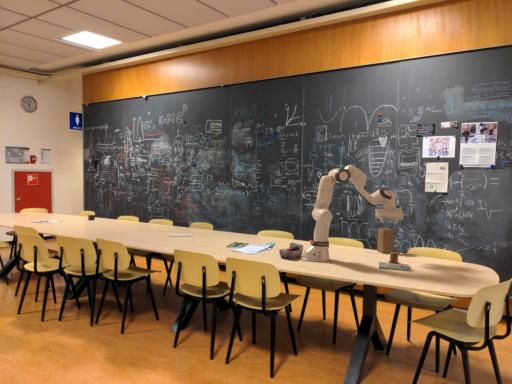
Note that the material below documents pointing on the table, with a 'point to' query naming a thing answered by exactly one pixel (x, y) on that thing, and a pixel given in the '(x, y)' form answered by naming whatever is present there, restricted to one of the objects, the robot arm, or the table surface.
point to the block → (385, 240)
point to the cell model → (292, 251)
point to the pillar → (394, 257)
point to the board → (394, 266)
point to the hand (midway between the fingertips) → (389, 222)
